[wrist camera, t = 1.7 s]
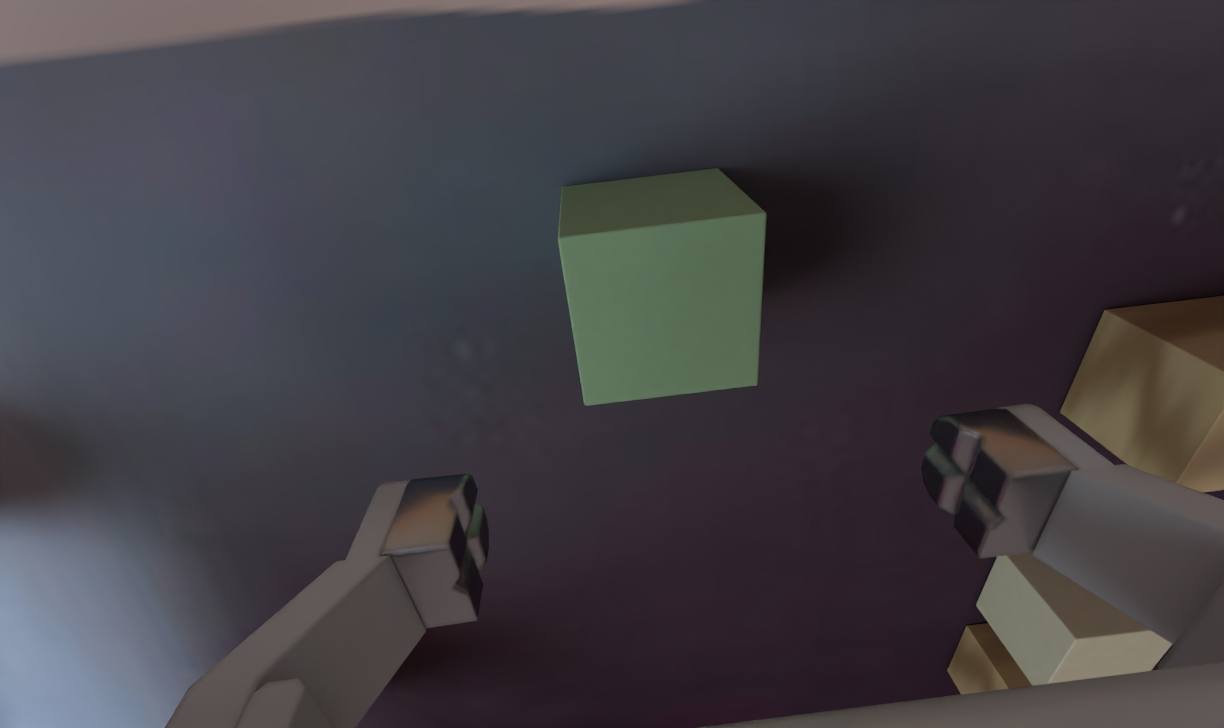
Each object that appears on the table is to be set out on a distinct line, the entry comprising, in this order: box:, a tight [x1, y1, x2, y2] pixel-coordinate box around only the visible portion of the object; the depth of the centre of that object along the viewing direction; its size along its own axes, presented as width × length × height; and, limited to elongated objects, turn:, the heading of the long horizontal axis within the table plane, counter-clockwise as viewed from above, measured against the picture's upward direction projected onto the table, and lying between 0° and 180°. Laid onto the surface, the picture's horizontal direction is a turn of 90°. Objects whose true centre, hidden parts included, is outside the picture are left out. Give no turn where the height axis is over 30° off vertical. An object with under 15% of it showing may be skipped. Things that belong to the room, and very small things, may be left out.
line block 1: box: [947, 623, 1032, 695], centre depth 31 cm, size 5×5×5 cm
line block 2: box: [1060, 296, 1224, 492], centre depth 20 cm, size 5×5×5 cm
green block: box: [558, 168, 766, 406], centre depth 16 cm, size 5×5×5 cm
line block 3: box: [976, 553, 1172, 686], centre depth 27 cm, size 5×5×5 cm
